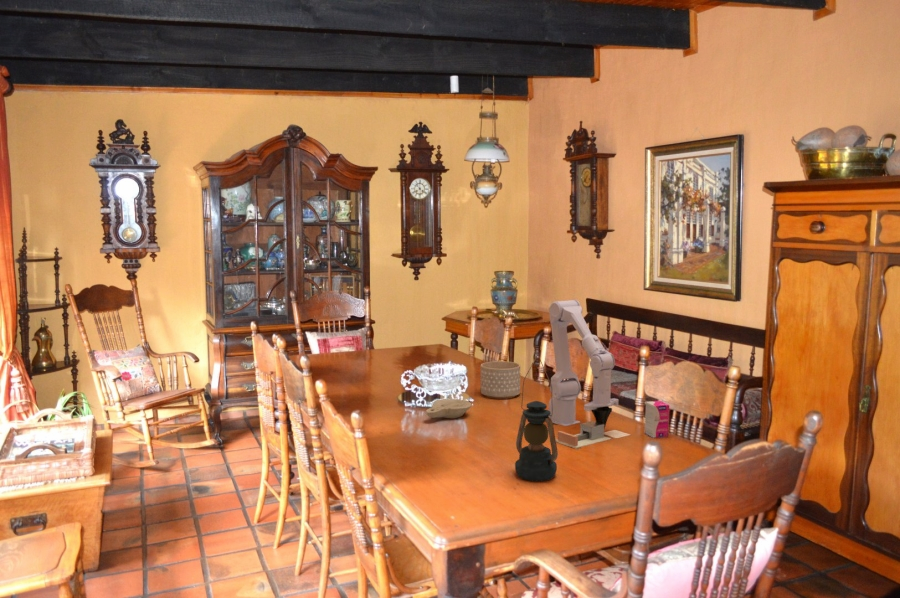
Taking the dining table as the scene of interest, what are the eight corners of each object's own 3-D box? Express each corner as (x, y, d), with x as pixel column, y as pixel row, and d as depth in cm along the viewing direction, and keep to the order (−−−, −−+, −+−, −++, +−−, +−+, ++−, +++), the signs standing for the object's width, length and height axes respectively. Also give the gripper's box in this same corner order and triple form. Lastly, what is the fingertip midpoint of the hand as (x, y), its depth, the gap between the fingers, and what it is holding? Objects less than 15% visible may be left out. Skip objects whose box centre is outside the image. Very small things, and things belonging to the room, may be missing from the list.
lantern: (503, 474, 210) (504, 354, 207) (529, 464, 219) (530, 348, 215) (542, 487, 200) (543, 360, 196) (568, 476, 209) (570, 355, 205)
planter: (476, 398, 299) (476, 367, 298) (486, 389, 315) (486, 360, 314) (515, 401, 295) (515, 370, 293) (523, 391, 310) (523, 362, 309)
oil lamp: (444, 427, 258) (444, 413, 258) (413, 420, 267) (413, 407, 266) (478, 414, 275) (478, 401, 274) (448, 408, 283) (448, 396, 283)
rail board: (554, 441, 241) (554, 430, 241) (588, 433, 250) (589, 422, 250) (576, 449, 233) (576, 438, 232) (611, 440, 242) (611, 429, 242)
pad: (600, 434, 249) (600, 433, 249) (614, 430, 253) (614, 429, 253) (616, 439, 243) (616, 438, 243) (630, 435, 247) (630, 434, 247)
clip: (580, 436, 244) (580, 423, 244) (592, 433, 248) (593, 420, 247) (591, 440, 240) (591, 427, 240) (604, 437, 244) (604, 424, 243)
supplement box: (653, 439, 243) (654, 405, 241) (644, 434, 248) (644, 401, 247) (668, 438, 244) (669, 404, 243) (659, 433, 250) (660, 400, 249)
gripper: (595, 394, 237) (595, 435, 239) (625, 388, 246) (624, 427, 247) (579, 390, 243) (579, 430, 244) (609, 384, 251) (608, 423, 253)
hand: (601, 428), depth 246 cm, fingers closed
